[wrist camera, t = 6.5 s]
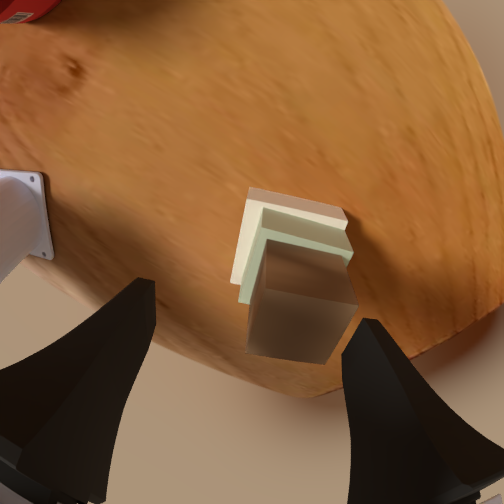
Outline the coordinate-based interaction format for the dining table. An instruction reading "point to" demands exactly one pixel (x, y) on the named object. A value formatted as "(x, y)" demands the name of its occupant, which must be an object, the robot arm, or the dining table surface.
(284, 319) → the walnut cube
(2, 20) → the canned food
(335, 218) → the tower base
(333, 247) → the tower mid
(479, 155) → the dining table surface
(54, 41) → the dining table surface
